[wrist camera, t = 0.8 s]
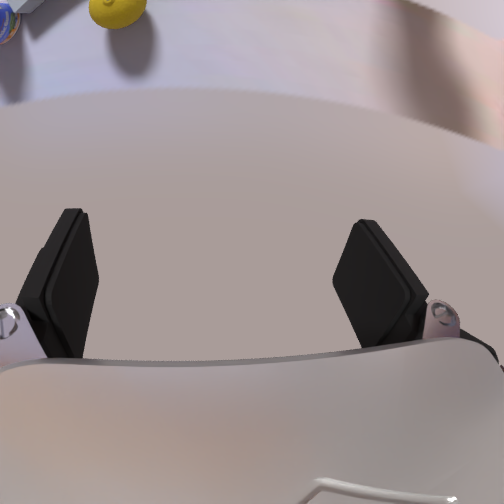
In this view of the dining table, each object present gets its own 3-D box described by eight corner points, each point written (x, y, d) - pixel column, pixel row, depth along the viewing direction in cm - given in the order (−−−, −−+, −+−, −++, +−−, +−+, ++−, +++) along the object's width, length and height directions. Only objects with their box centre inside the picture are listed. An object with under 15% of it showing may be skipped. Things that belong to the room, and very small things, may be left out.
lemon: (113, 38, 26) (91, 39, 19) (95, 1, 22) (69, -7, 16) (159, 15, 25) (148, 8, 19) (141, -23, 21) (126, -39, 15)
